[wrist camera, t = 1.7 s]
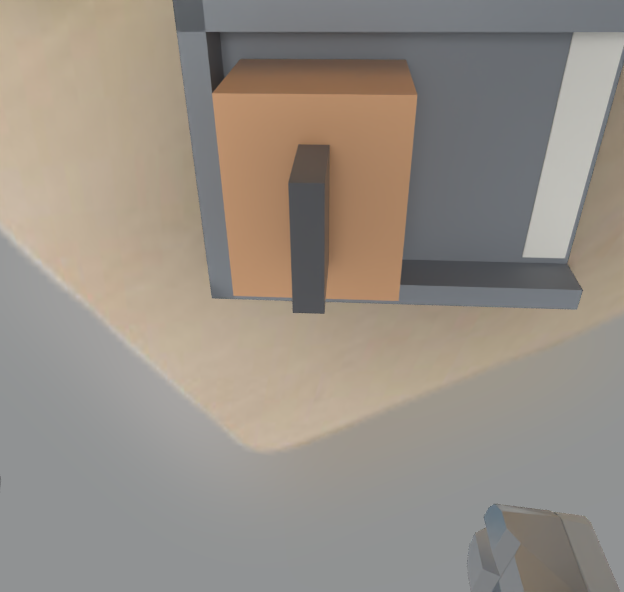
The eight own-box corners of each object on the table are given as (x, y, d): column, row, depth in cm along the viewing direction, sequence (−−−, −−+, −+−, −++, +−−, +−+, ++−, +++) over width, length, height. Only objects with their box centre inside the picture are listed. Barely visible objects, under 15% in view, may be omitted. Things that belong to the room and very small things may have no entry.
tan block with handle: (405, 59, 34) (428, 127, 23) (392, 237, 40) (404, 354, 30) (240, 58, 34) (186, 124, 24) (253, 234, 41) (216, 347, 30)
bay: (639, -12, 32) (673, -3, 28) (559, 278, 42) (576, 309, 39) (191, -10, 33) (172, -2, 30) (223, 268, 44) (211, 298, 41)
